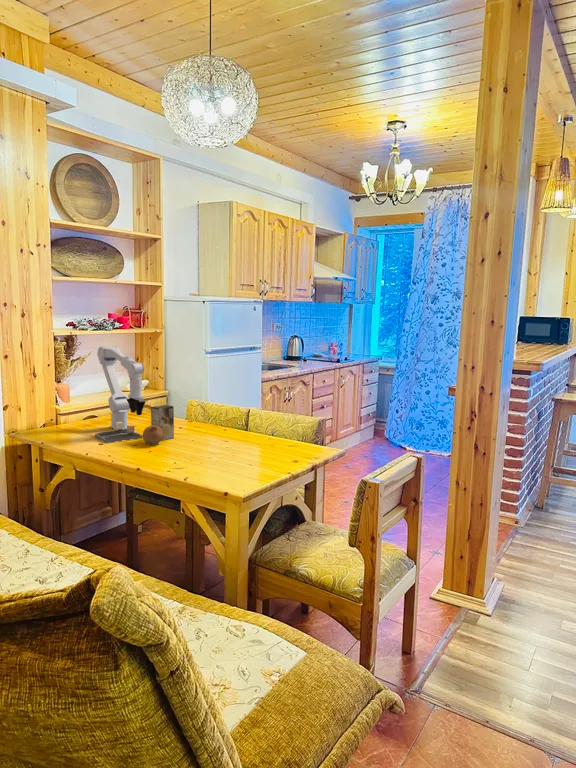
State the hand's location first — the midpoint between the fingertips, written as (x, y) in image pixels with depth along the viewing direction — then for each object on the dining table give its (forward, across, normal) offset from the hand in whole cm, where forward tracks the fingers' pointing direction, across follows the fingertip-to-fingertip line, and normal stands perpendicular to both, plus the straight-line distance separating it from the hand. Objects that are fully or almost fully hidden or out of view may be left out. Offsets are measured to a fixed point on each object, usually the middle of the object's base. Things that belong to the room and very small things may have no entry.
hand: (136, 413), depth 270 cm
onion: (+10, +25, -2) cm, 27 cm away
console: (+10, +5, -11) cm, 16 cm away
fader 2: (+8, +10, -7) cm, 15 cm away
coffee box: (+10, +18, +6) cm, 21 cm away
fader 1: (+8, +1, -9) cm, 12 cm away
